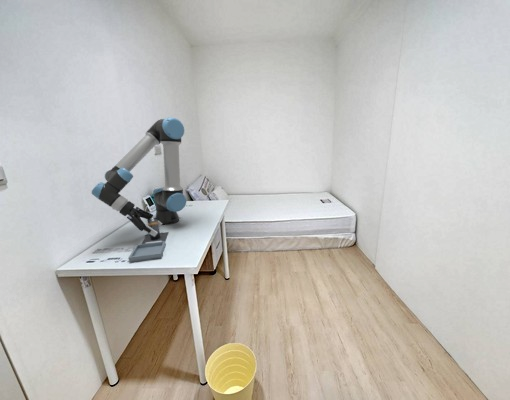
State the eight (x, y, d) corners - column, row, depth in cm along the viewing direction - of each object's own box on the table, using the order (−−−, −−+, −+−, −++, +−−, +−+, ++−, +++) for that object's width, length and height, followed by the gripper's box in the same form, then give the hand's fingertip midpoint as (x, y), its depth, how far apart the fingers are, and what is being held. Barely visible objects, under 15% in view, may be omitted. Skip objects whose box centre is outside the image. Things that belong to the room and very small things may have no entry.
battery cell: (151, 236, 130) (148, 217, 127) (161, 235, 131) (158, 216, 128) (149, 240, 125) (146, 220, 122) (159, 239, 126) (156, 219, 123)
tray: (137, 249, 117) (136, 244, 116) (165, 245, 120) (165, 241, 119) (129, 262, 104) (128, 257, 104) (161, 258, 107) (160, 253, 106)
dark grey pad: (147, 235, 134) (146, 234, 133) (169, 232, 136) (168, 231, 136) (140, 246, 120) (140, 244, 120) (165, 243, 123) (165, 241, 122)
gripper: (126, 205, 132) (158, 226, 139) (109, 219, 109) (149, 244, 115) (135, 195, 132) (166, 217, 139) (119, 207, 108) (158, 233, 115)
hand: (158, 229), depth 127 cm, fingers open, 13 cm apart
